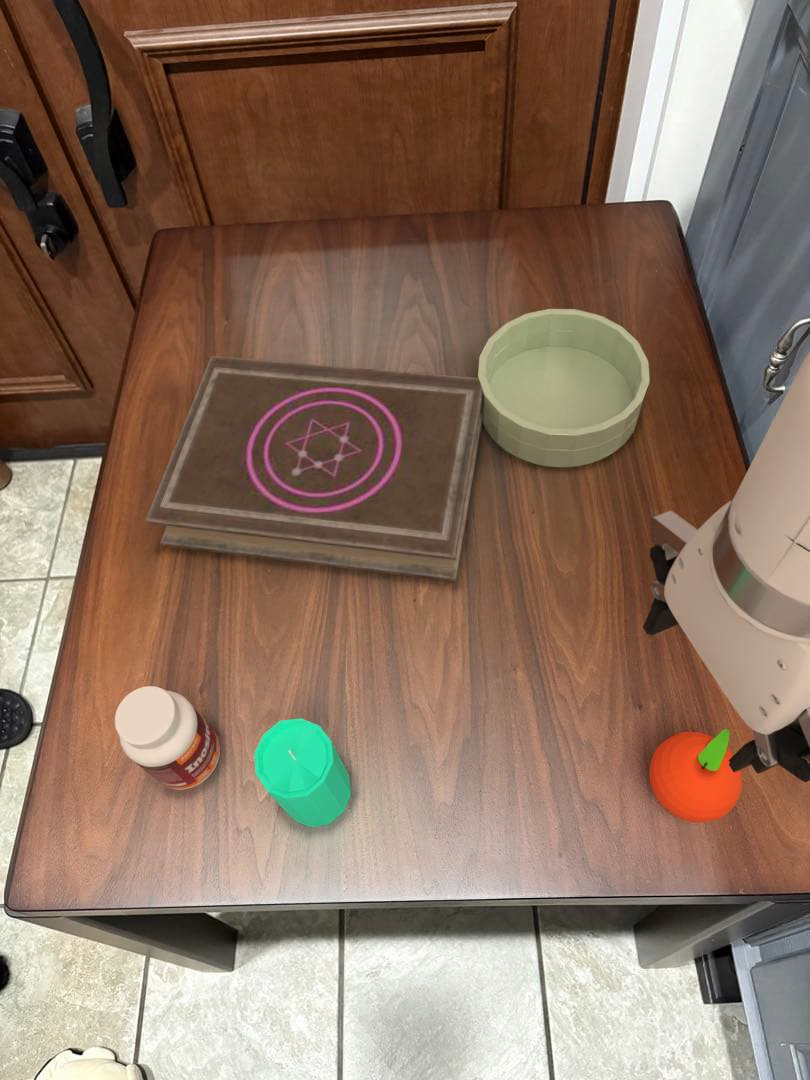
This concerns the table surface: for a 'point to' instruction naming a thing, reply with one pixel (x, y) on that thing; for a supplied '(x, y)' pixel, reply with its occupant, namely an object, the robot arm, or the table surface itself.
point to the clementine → (695, 776)
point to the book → (324, 467)
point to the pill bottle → (167, 737)
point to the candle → (303, 772)
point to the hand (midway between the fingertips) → (706, 687)
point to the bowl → (562, 387)
